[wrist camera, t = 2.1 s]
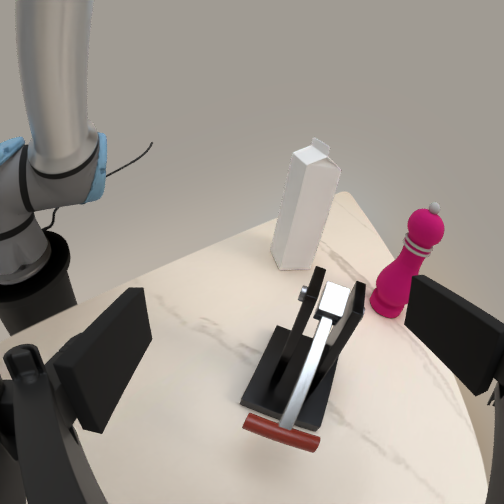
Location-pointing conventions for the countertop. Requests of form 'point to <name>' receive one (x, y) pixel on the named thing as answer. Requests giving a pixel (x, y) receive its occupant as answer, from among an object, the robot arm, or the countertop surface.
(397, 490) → the countertop surface
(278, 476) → the countertop surface
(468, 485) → the countertop surface
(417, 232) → the pepper mill
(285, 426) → the lever
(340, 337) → the black lever stand
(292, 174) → the milk
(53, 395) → the robot arm
